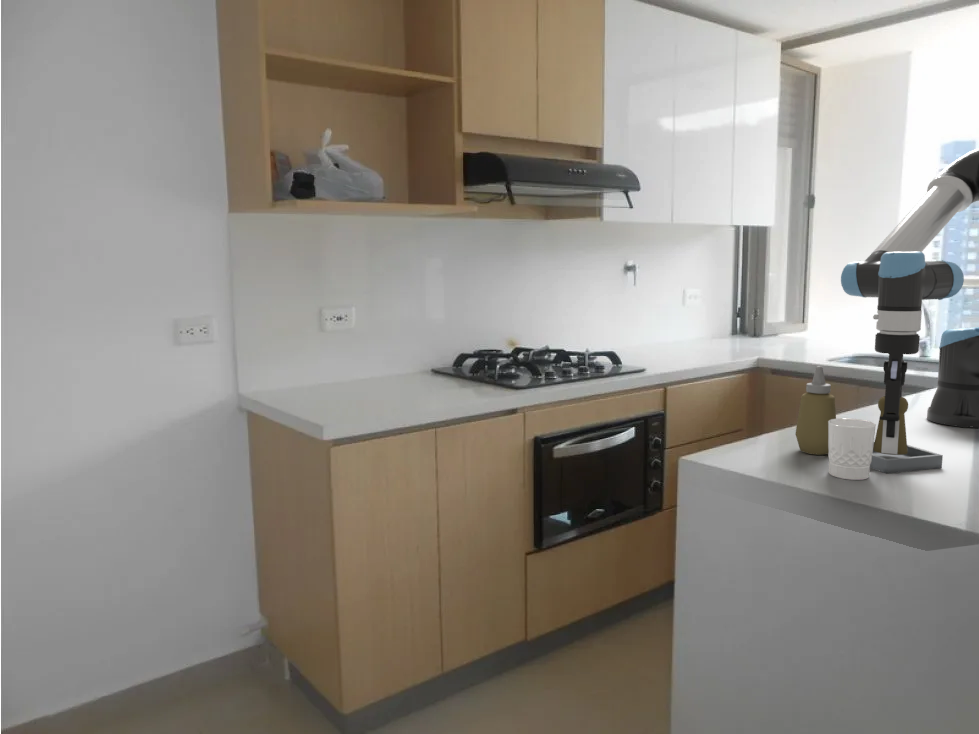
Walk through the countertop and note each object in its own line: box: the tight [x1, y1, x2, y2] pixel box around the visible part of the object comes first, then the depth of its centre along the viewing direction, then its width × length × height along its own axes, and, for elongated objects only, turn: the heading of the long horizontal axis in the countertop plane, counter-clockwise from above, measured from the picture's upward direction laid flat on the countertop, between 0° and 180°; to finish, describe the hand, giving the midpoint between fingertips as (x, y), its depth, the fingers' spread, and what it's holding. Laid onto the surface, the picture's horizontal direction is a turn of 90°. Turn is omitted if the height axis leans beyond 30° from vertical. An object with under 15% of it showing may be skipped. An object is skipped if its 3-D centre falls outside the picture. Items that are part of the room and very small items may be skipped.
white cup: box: [827, 417, 877, 481], centre depth 139 cm, size 8×8×10 cm
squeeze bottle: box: [795, 365, 837, 456], centre depth 155 cm, size 8×8×18 cm
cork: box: [873, 395, 909, 455], centre depth 147 cm, size 6×6×11 cm
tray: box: [870, 444, 944, 474], centre depth 148 cm, size 13×13×2 cm
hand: (890, 448), depth 148 cm, fingers closed on cork, 6 cm apart
